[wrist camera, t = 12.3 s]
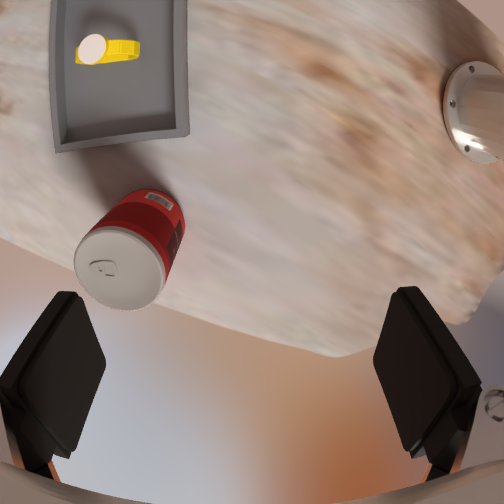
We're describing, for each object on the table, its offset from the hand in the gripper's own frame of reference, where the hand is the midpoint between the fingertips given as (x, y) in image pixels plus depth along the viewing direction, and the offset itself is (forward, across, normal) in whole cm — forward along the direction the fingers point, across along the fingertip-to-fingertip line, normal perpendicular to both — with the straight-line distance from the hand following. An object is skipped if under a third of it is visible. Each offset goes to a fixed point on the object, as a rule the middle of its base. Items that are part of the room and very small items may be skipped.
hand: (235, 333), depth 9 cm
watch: (+24, +12, -12) cm, 29 cm away
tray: (+24, +12, -12) cm, 30 cm away
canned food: (+24, +10, +6) cm, 27 cm away
